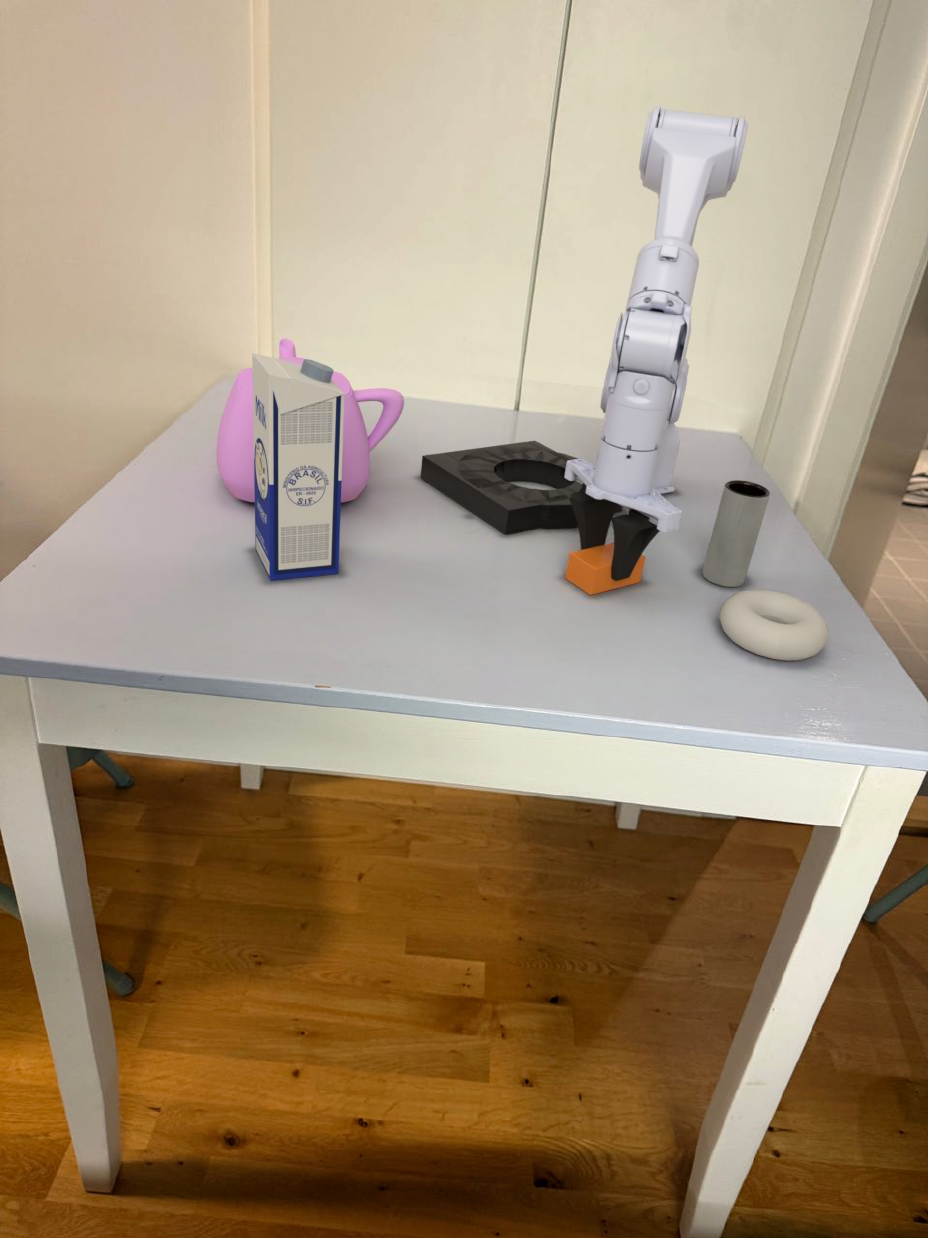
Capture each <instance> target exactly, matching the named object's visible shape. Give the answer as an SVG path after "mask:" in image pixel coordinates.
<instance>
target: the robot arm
mask: <svg viewBox="0 0 928 1238" xmlns="http://www.w3.org/2000/svg"><path fill="white" fill-rule="evenodd" d="M748 128H749V124H748V121H747V120H746V117H745V116H741V115H739V116H738V117H736V116H725V115H717V114H708V113H699V112H691V111H683V110H675V109H666V108H662V107H661V106H655V107H654V108H653V109H652V110H651V111H650V112H648V115H647V119H646V124H645V127H644V133H643V137H642V138H643V139H642V145H641V149H640V157H639V164H638V170H639V175H640V180H641V182H642V187H643V188H646V189H647V190H650V191H652V192H653V193H656V194H657V198H658V205H657V212H656V221H655V228H654V229H655V231H654V238H653V240H651V241H648V242H647V243H645V244H644V245H643V246H642V247H641V248H640V250H639V251H638V254H637V256H636V262H635V266H634V271H633V275H632V280H631V284H630V288H629V292H628V297H627V302H626V306H625V311H624V313H623V312H622V311H621V312H620V313H619V315H618V318H617V321H616V325H615V330H614V335H613V340H612V345H611V350H610V357H609V361H608V365H607V368H606V372H605V377H604V382H603V387H602V391H601V392H602V393H601V398H600V404H599V405H600V406H599V407H600V409H601V411H602V413H603V414H604V418H603V424H602V429H601V434H600V439H599V446H598V450H597V456H596V461H595V463H593V462H590V461H587V460H585V459H584V458H578V459H575V460H568V461H567V464H566V470H565V476H564V478H565V479H567V480H569V481H577V482H579V483H581V484H582V488H581V489H580V491H579V492H574V493H572V494H571V495H570V502H571V504H572V507H573V509H574V512H575V515H576V519H577V523H578V527H577V528H578V535H579V542H580V550H583V549H588V548H592V547H597V546H601V545H605V544H606V541H607V537H608V533H609V529H610V526H612V531H613V543H614V553H613V559H612V565H611V578H612V579H613V580H615V581H618V580H622V579H626V578H629V577H630V575H631V573H632V571H633V569H634V567H635V565H636V563H637V561H638V560H639V558H640V556H641V555H643V553H644V551H645V550H646V549H647V547H648V546H649V545H650V543H651V542H652V540H653V539H655V537H656V536H657V535H658V534H659V533H660V532H661V533H663V534H665V533H670V532H675V531H678V530H679V529H680V524H681V520H682V515H683V510H681V509H679V508H678V507H676V506H674V505H673V504H672V503H671V502H670V501H668V499H666V498H665V497H664V496H663V495H664V494H669V493H673V492H675V487H674V486H672V480H673V476H674V471H675V468H676V463H677V458H678V455H679V449H680V444H681V439H680V438H681V437H680V433H679V428H678V427H677V426H676V424H675V423H676V422H678V421H679V419H680V415H681V411H682V408H683V403H684V398H685V393H686V388H687V383H688V375H689V369H690V365H689V360H688V359H687V353H688V347H689V342H690V339H691V333H692V312H693V306H692V302H693V301H692V300H693V296H694V293H695V292H694V291H695V286H696V281H697V275H698V271H699V266H700V260H699V259H700V258H699V255H698V253H697V252H696V250H695V249H694V248H693V245H694V239H695V234H696V231H697V225H698V221H699V217H700V214H701V212H702V211H703V209H704V208H705V206H706V205H707V204H708V202H709V201H711V200H715V199H720V198H721V199H722V198H725V197H727V195H728V193H729V192H730V191H731V190H732V188H733V185H734V183H735V182H736V181H737V177H738V174H739V169H740V165H741V161H742V157H743V153H744V152H743V151H744V148H745V143H746V140H747V139H746V138H747V135H748ZM618 505H621V506H623V509H626V510H628V514H627V513H624V514H620V515H615V511H616V509H617V506H618ZM611 524H612V525H611Z"/></svg>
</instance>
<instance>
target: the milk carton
mask: <svg viewBox="0 0 928 1238" xmlns="http://www.w3.org/2000/svg"><path fill="white" fill-rule="evenodd" d="M251 360H252V368H253V427H254V488H255V503H254V541H255V542H254V543H255V544H254V545H255V547H254V549H255V552H256V554H257V556H258V558H259V560H260V562H261V564H262V566H263V569H264V570H265V572H266V574H267V576H268V578H269V580H270V582H271V581H281V580H290V579H291V580H292V579H300V578H301V579H302V578H311V577H320V576H330V575H331V576H332V575H339V568H340V567H339V565H340V537H341V536H340V535H341V513H342V512H341V509H342V508H341V507H342V503H341V484H342V456H343V427H344V399H345V393H344V392H343V391H342V390H341V389H340V388H339V387H338V386H337V385H336V384H335V383H334V382H333V381H332V380H331V378H332V374H333V371H334V372H335V370H334V369H333V368H332V367H330V366H329V365H326V364H323V363H322V362H318V361H315V360H312V359H309V358H304V361H303V364H302V365H299V364H295V363H292V362H289V361H285V360H282V359H279V357H275V356H268V355H262V354H258V353H252V355H251Z"/></svg>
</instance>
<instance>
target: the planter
mask: <svg viewBox="0 0 928 1238" xmlns="http://www.w3.org/2000/svg"><path fill="white" fill-rule="evenodd" d="M770 496H771V492H770V490H769V489H768V488H767V487H765V486H763V485H761V484H759V483H756V482H753V481H747V480H737V479H735V480H729V481H727V482H726V483H725V484H724V487H723V490H722V494H721V499H720V502H719V506H718V509H717V514H716V518H715V521H714V524H713V528H712V531H711V536H710V540H709V544H708V549H707V551H706V555H705V560H704V563H703V567H702V573H701V574H702V576H703V578H704V579H705V580H707V581H709V582H710V583H711V584H715V585H718V586H721V587H727V588H737V587H741V586H742V585H744V583H745V581H746V578H747V576H748V571H749V569H750V566H751V565H750V564H751V562H752V558H753V554H754V552H755V548H756V544H757V541H758V537H759V533H760V531H761V527H762V523H763V520H764V517H765V513H766V509H767V506H768V504H769V499H770Z"/></svg>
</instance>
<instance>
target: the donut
mask: <svg viewBox="0 0 928 1238" xmlns="http://www.w3.org/2000/svg"><path fill="white" fill-rule="evenodd" d="M719 621H720V624H721V627H722V630H723V632H724V633H725V634H726V635H727V637H728V638H729V639H731V641H732V642H733V643H735V644H736V645H738V646H739V647H741V648H742V649H743V650H746V651H749V652H751V653H753V654H755V655H757V656H761V657H765V658H769V659H772V660H778V661H785V662H789V661H791V662H792V661H801V660H805V659H808V658H811V657H814V656H816V655H818V653H819V652H820V651H822V649H824V648H825V646H826V645H827V643H828V639H829V627H828V623H827V621H826V620H825V618H824V617H823V615H822V614H821V613H820V612H819V611H818V610H817V609H816V608H815V607H813V606H812V605H810V604H809V603H808V602H805V601H804V600H802V599H801V598H798V597H795V596H792V595H790V594H787V593H784V592H779V591H775V590H769V589H768V590H767V589H747V590H743V591H738V592H736V593H734V594H732V595H731V596H730V597H728V598H726V600H725V601H724V602H723V604H722V606H721V609H720V612H719Z"/></svg>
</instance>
